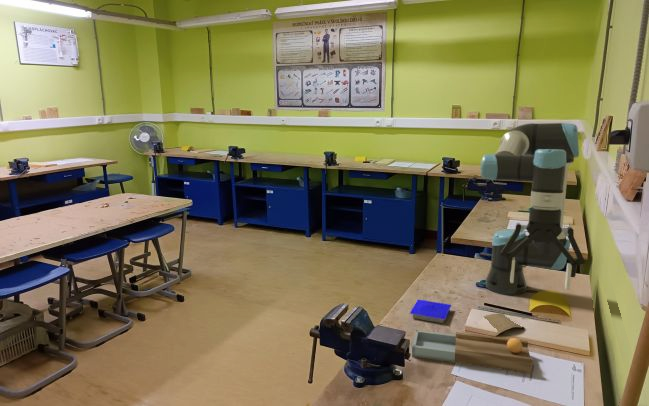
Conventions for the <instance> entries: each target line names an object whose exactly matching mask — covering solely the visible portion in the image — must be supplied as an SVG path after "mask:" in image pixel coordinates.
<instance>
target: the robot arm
mask: <svg viewBox="0 0 649 406" xmlns="http://www.w3.org/2000/svg"><path fill="white" fill-rule="evenodd" d="M578 130H579V129H578V126H577V125H576V123H566V122H550V123H547V122H546V123H542V122H541V123H524V124H521V125H518V126H515V127H513V128H511V129H510V130H508V131H506V132H505V133H504V134H503V136H502V137H501V139H500V143H499V148H498V149H497V151H495V152H496V153H490V154H484V155H483V156H482V158H481V162H480V176H481V178H482V179H484V180H492V181H507V182H508V181H511V182H515V181H516V182H530V183H531V192H530V203H529V205H530V206H531V207H530V208H529V215H528V216H529V217H528V223H527V224H522V223H519V222H517V223H515V227H514V229H512V228H511V229H503V230H498V231H497V232H495V233H494V234H493V237H492V243H491V254H492V256H491V264H490V265H491V266H490V269H489V271H488V273H487V276H486V278H485V284H486V286H485V287H486V289H488V290H490V291H491V292H494V293H497V294H501V295H510V296H511V295H512V296H516V295H521V294H524V293H525V292H526V291H527V282H526V277H525V274H524V271H523V270H524V266H525V267H526V266H527V267H534V268H542V269H547V270H557V271H558V270H559V271H560V270H563V269H564V268H565V266H566V270H565V279H564V280H565V281H564V288H565V290H566V291H570V286H571V279H572V278H575V277H576V272H577V266H579V265H585V263H586V260H585V259H584V257H583V254H582V252H581V250H580V247H579V245H578V243H577V241H576V239H575V235H574V228H573V227H571V226H567V227H563V225H564V218H565V217H564V215H565V208H566V207H565V205H566V196H567V185H568V184H567V183H568V173H569V167H570V166H571V165H572V164H573V163H574V161H575V158H579V157H580V150H579V148H580V147H579V146H580V145H579V131H578ZM525 230H526V231H525ZM526 232H527V233H528V234H527V233H526ZM570 247H572V249H573V251H574V254H575V255H576V258H574V257H573V256H572V255H571V253H570ZM567 260H568V262H567ZM485 284H484V285H485Z"/></svg>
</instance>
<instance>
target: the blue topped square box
mask: <svg viewBox="0 0 649 406" xmlns="http://www.w3.org/2000/svg"><path fill="white" fill-rule="evenodd" d="M451 307H452V304H449V303H448V304H447V303H441V302H437V301H436V302H435V301H429V300H423V299H417V300H416V302H415V303H414V306H413V307H412V309H411V310H410V312H409V314H410V315H412V318H413V319H418V320H423V321H428V322H433V323H440V324H443V323H444V322H445V321H446V318H447V316H448V314H449V311H450V309H451Z"/></svg>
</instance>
